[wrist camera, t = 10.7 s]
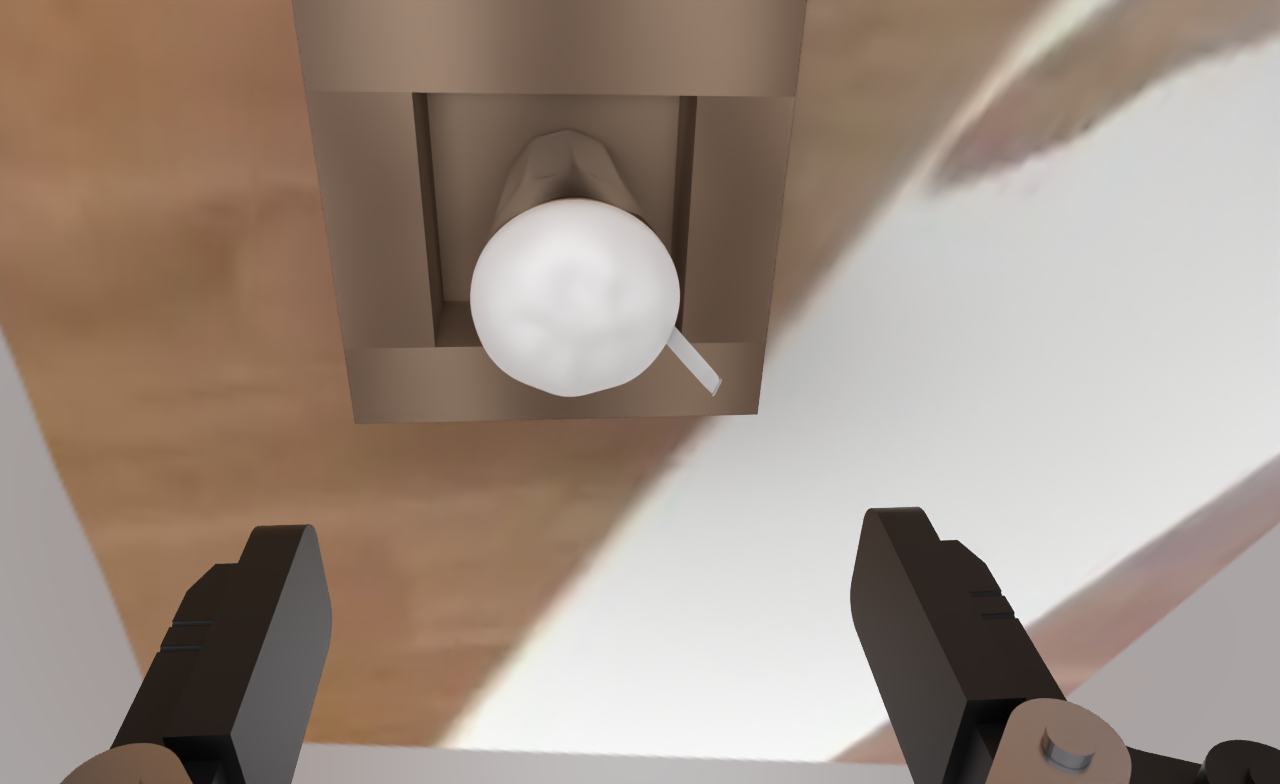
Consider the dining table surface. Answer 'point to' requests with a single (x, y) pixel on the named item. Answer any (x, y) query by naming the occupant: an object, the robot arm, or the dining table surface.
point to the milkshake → (576, 276)
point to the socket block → (495, 137)
